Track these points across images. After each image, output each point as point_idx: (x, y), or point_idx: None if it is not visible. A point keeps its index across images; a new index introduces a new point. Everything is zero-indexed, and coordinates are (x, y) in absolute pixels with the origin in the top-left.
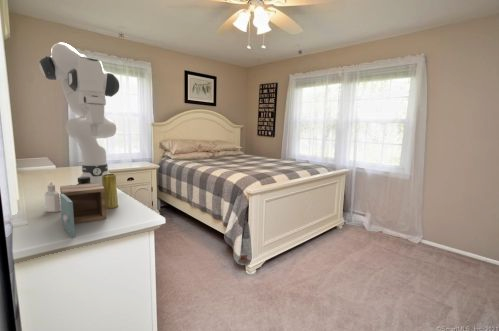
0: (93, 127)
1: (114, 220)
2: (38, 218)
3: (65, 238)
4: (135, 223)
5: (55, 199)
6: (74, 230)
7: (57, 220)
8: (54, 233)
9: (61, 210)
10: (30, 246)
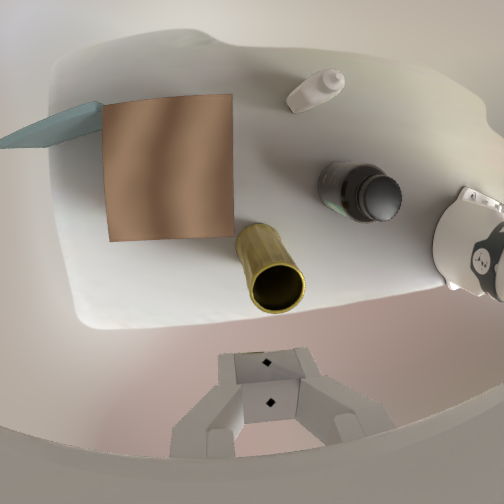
0: (182, 434)
1: None
2: (247, 62)
3: None
4: (76, 273)
5: (295, 95)
6: (39, 147)
7: None
8: None
9: None
10: (54, 75)
